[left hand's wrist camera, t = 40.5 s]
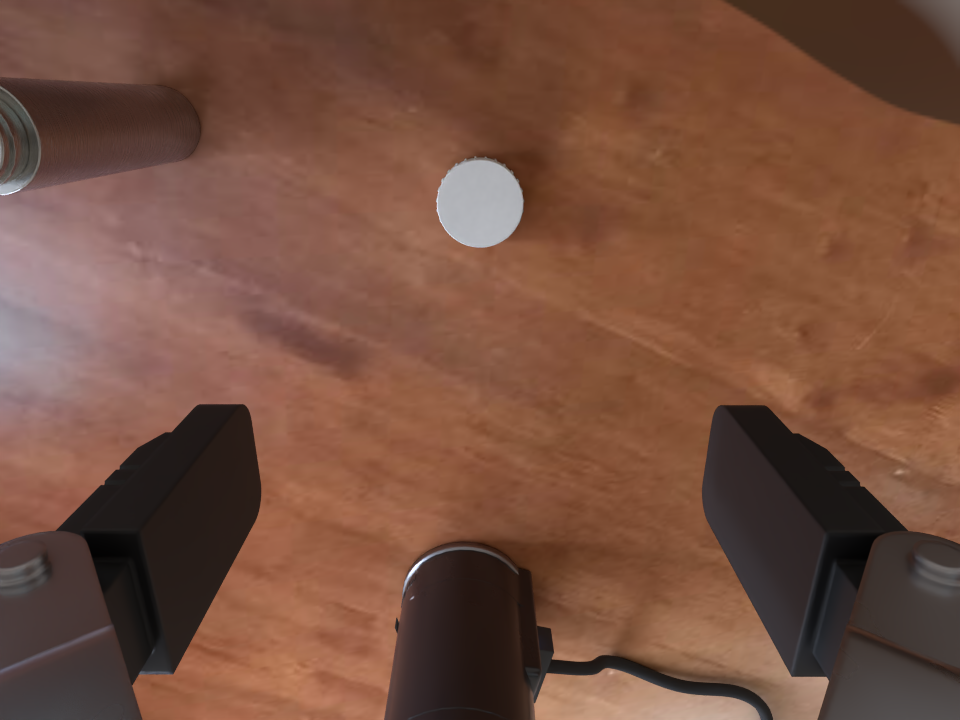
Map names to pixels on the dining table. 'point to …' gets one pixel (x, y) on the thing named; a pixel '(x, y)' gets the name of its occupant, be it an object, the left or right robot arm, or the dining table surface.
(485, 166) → the lid
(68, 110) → the jar
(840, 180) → the dining table surface
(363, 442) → the dining table surface
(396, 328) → the dining table surface
